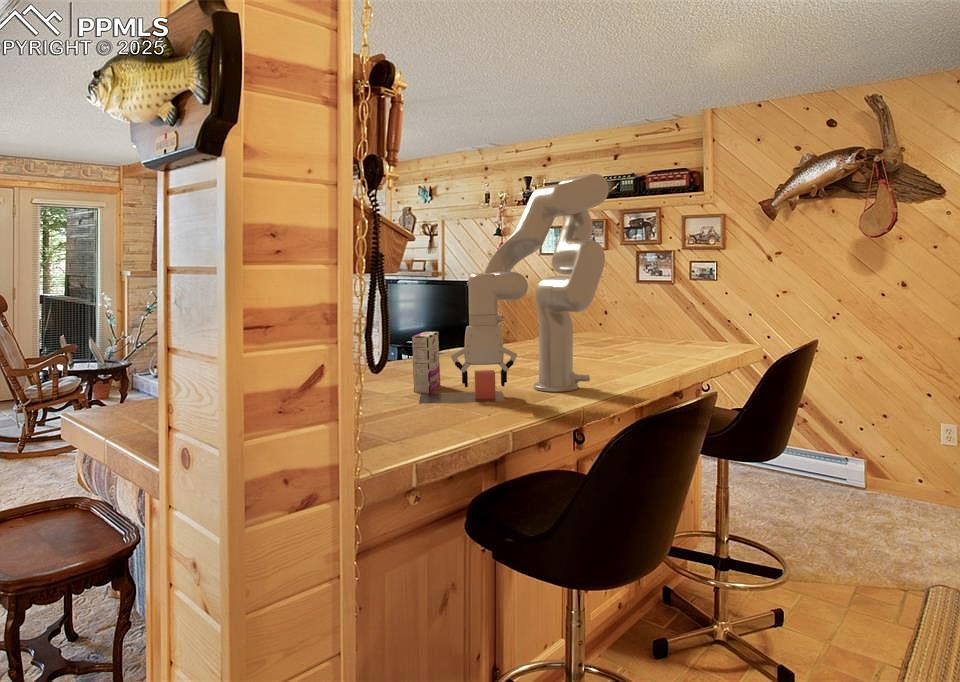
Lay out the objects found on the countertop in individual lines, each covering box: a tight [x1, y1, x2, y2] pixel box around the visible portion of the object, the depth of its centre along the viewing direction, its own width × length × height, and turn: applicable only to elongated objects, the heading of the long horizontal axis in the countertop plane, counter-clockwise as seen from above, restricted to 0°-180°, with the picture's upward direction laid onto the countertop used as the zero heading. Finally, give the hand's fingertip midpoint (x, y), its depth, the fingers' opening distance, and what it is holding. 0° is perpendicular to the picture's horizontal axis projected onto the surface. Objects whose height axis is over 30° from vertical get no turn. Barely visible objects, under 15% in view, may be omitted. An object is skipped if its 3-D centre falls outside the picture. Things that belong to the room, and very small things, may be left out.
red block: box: [474, 369, 496, 399], centre depth 171 cm, size 5×5×7 cm
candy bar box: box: [411, 331, 441, 394], centre depth 183 cm, size 11×5×16 cm, turn 168°
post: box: [418, 390, 506, 405], centre depth 171 cm, size 22×13×6 cm, turn 93°
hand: (484, 385), depth 171 cm, fingers open, 9 cm apart
